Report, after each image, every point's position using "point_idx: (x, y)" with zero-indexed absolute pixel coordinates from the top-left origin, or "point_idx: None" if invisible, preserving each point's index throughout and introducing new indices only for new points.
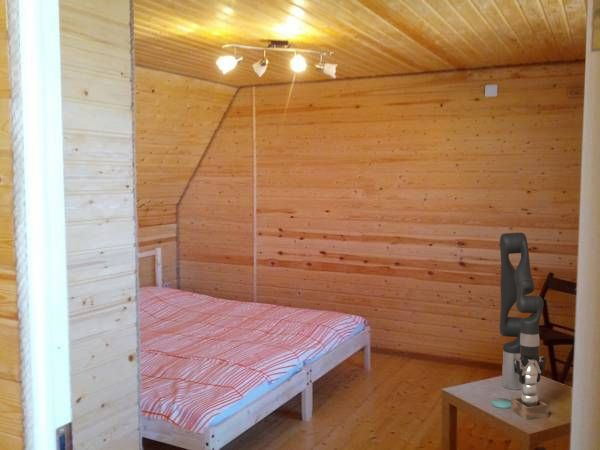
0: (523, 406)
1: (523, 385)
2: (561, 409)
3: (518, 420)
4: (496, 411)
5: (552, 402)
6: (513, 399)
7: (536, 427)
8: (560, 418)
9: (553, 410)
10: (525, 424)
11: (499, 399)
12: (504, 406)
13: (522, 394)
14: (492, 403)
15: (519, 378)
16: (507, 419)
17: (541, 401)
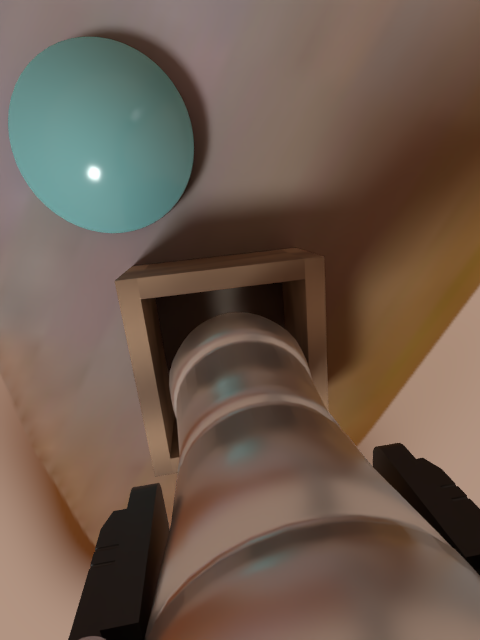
0: (147, 440)
1: (179, 468)
2: (442, 311)
3: (111, 421)
4: (13, 264)
5: (472, 190)
6: (127, 299)
7: (169, 508)
8: (354, 424)
9: (390, 317)
10: (128, 472)
11: (98, 71)
12: (88, 229)
13: (176, 395)
14: (12, 131)
15: (91, 575)
16: (46, 400)
17: (326, 377)
